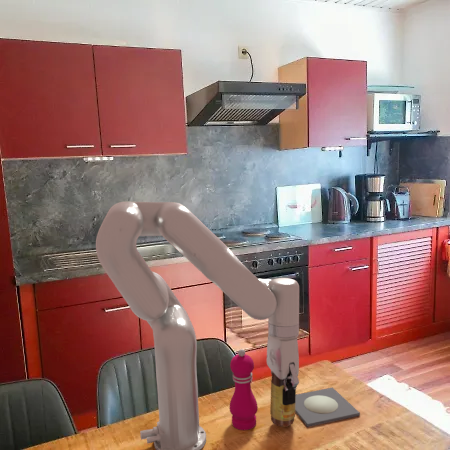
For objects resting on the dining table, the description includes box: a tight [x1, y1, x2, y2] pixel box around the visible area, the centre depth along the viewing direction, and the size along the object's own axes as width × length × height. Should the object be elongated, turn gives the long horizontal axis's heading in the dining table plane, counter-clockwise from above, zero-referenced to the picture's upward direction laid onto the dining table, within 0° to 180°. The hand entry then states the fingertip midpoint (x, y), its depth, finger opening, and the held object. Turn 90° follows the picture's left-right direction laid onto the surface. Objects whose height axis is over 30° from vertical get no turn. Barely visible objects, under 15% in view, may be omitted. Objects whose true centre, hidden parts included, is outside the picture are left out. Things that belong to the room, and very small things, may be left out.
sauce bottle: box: [269, 371, 297, 427], centre depth 113 cm, size 6×6×20 cm
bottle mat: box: [295, 387, 361, 428], centre depth 121 cm, size 15×14×1 cm
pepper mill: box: [229, 348, 259, 431], centre depth 114 cm, size 7×7×20 cm
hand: (283, 396), depth 113 cm, fingers closed on sauce bottle, 6 cm apart
